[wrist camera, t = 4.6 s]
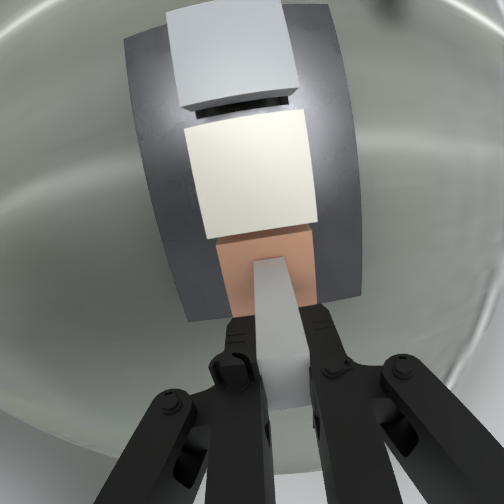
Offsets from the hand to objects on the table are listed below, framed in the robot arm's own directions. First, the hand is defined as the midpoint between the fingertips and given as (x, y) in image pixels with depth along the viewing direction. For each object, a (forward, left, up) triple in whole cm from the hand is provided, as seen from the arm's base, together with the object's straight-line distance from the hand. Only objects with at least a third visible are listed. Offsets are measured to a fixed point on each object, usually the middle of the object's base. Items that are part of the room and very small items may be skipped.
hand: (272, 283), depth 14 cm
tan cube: (0, 0, -5) cm, 5 cm away
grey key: (-11, 0, -4) cm, 12 cm away
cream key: (-6, 0, -4) cm, 7 cm away
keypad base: (-6, 0, -6) cm, 8 cm away
